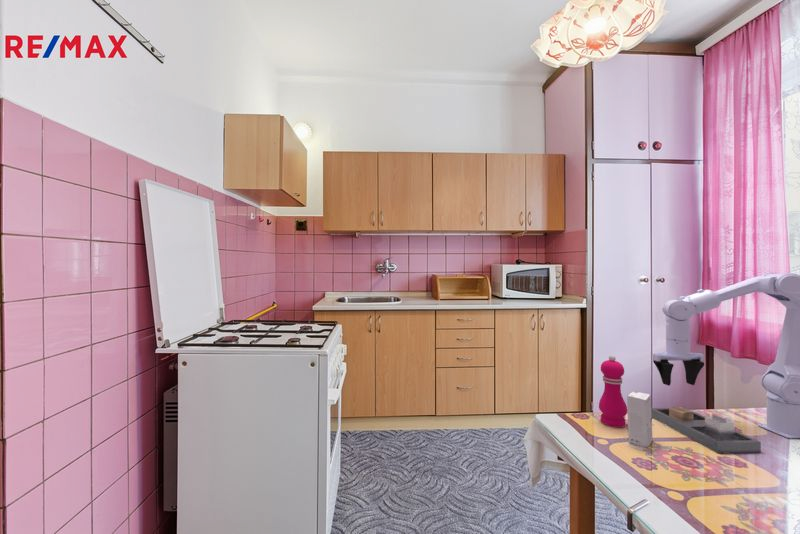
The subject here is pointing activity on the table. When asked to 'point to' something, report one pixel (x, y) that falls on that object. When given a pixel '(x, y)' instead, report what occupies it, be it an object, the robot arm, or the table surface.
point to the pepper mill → (612, 394)
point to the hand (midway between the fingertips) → (678, 384)
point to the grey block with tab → (719, 428)
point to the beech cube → (680, 413)
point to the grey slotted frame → (697, 433)
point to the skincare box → (639, 418)
